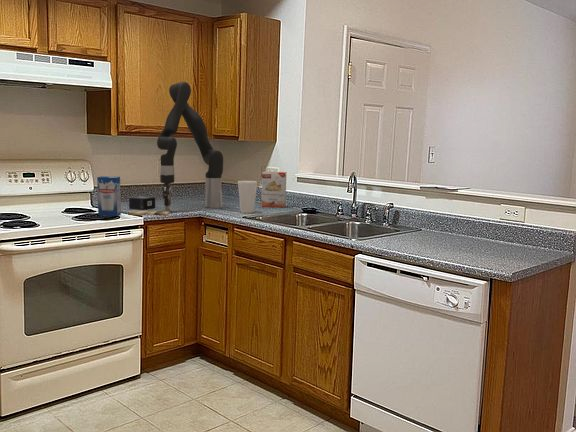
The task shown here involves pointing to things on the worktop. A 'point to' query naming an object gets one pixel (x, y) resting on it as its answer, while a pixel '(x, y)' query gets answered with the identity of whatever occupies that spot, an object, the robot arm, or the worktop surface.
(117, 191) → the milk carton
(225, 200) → the worktop surface
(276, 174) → the cracker box
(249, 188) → the cup
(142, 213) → the panel
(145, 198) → the small box
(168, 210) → the awl
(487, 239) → the worktop surface
